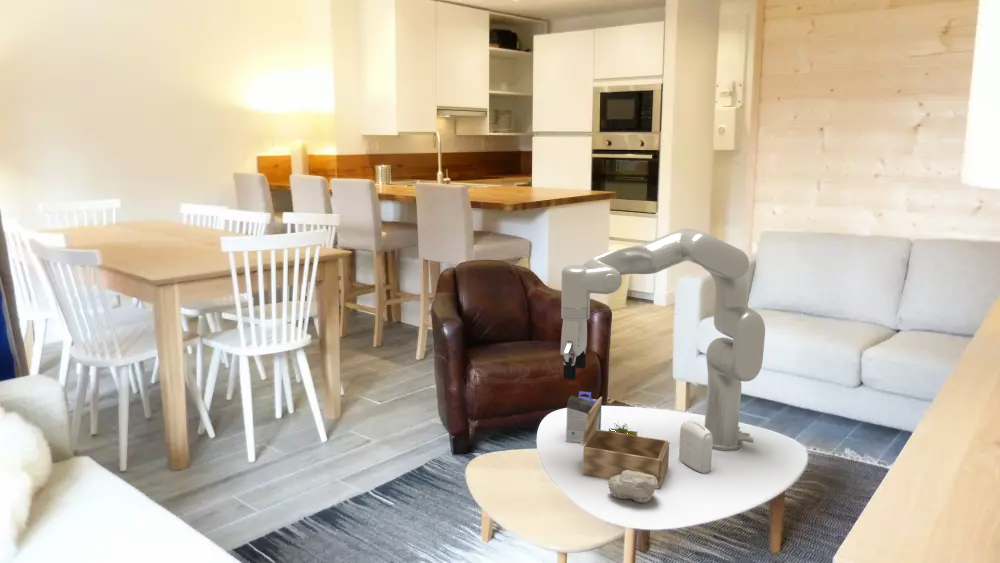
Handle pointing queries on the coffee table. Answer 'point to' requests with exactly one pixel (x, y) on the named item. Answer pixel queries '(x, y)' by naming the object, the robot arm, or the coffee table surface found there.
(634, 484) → the fossil replica
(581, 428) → the ink cartridge box
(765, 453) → the coffee table surface
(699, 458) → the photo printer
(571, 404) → the flap
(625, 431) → the lily flower
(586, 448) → the open wooden box
